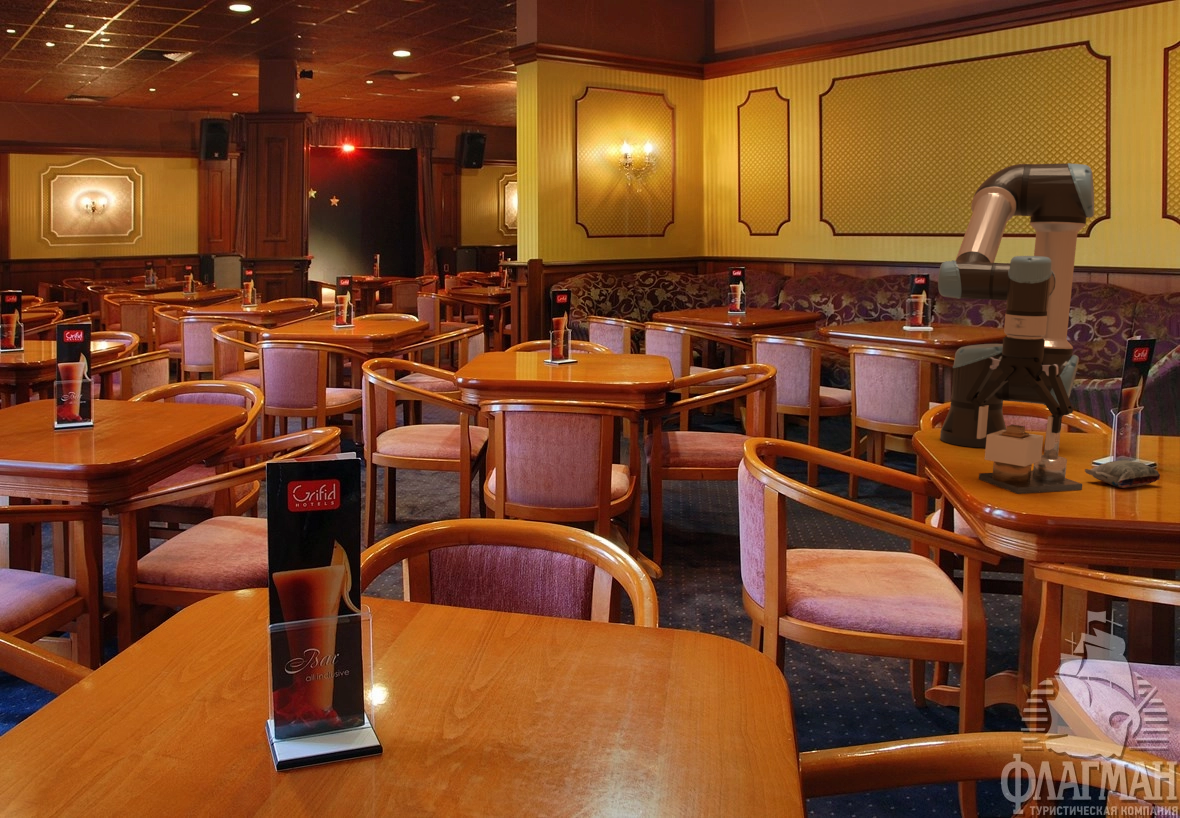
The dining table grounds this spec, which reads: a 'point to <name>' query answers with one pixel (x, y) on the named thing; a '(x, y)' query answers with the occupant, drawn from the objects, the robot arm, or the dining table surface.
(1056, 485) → the jig plate
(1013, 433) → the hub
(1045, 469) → the stand
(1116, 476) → the packaged food
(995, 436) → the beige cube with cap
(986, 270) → the robot arm
